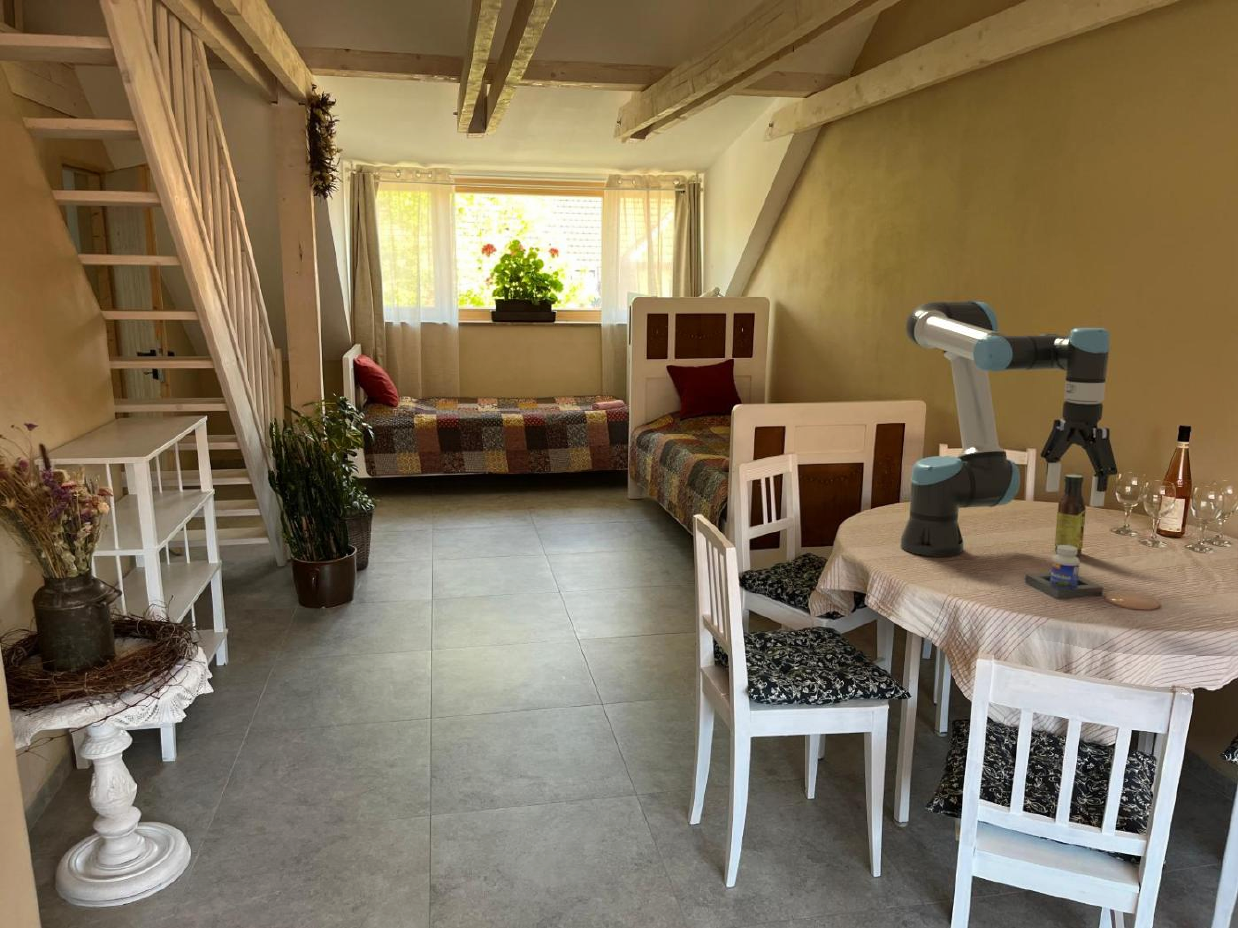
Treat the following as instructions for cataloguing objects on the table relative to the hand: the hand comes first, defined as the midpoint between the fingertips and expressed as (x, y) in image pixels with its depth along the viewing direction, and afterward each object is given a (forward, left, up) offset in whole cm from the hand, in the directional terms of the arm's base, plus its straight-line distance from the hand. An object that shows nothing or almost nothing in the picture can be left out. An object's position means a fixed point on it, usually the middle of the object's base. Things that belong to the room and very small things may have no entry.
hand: (1073, 498), depth 192 cm
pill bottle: (0, -1, -21) cm, 21 cm away
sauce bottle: (-23, +18, -21) cm, 36 cm away
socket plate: (0, -1, -21) cm, 21 cm away
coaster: (+10, +8, -21) cm, 25 cm away
